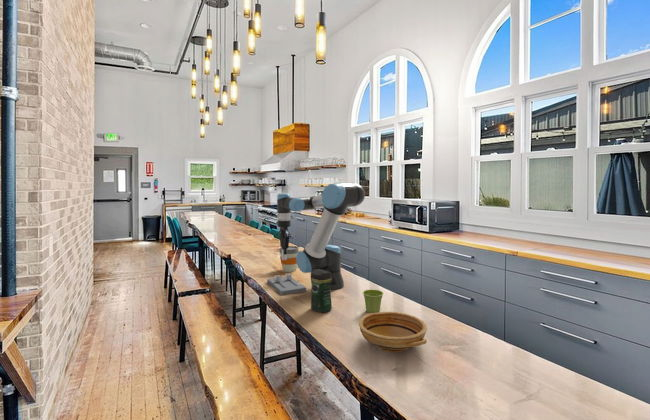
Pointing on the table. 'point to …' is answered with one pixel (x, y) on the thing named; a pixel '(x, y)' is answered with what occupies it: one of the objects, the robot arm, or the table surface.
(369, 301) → the plant pot
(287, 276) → the fader
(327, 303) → the coffee jar
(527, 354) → the table surface
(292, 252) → the reusable coffee cup
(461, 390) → the table surface
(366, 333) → the ceramic bowl
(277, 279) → the fader
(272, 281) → the console
